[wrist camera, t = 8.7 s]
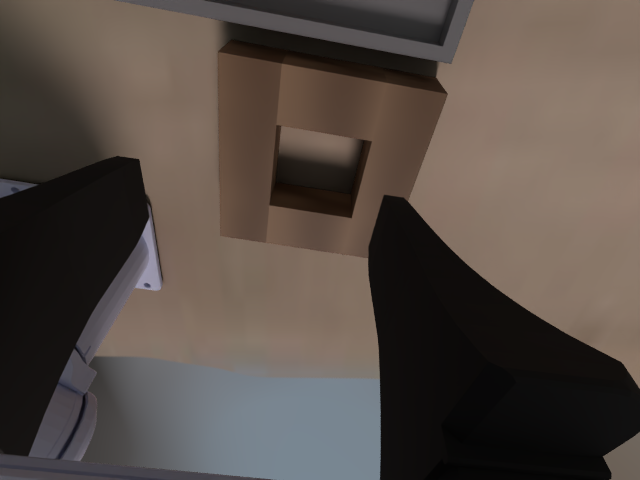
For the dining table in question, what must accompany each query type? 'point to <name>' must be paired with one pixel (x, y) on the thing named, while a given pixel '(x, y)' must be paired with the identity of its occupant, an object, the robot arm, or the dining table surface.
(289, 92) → the socket block
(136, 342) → the dining table surface
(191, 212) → the dining table surface
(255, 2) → the tray
